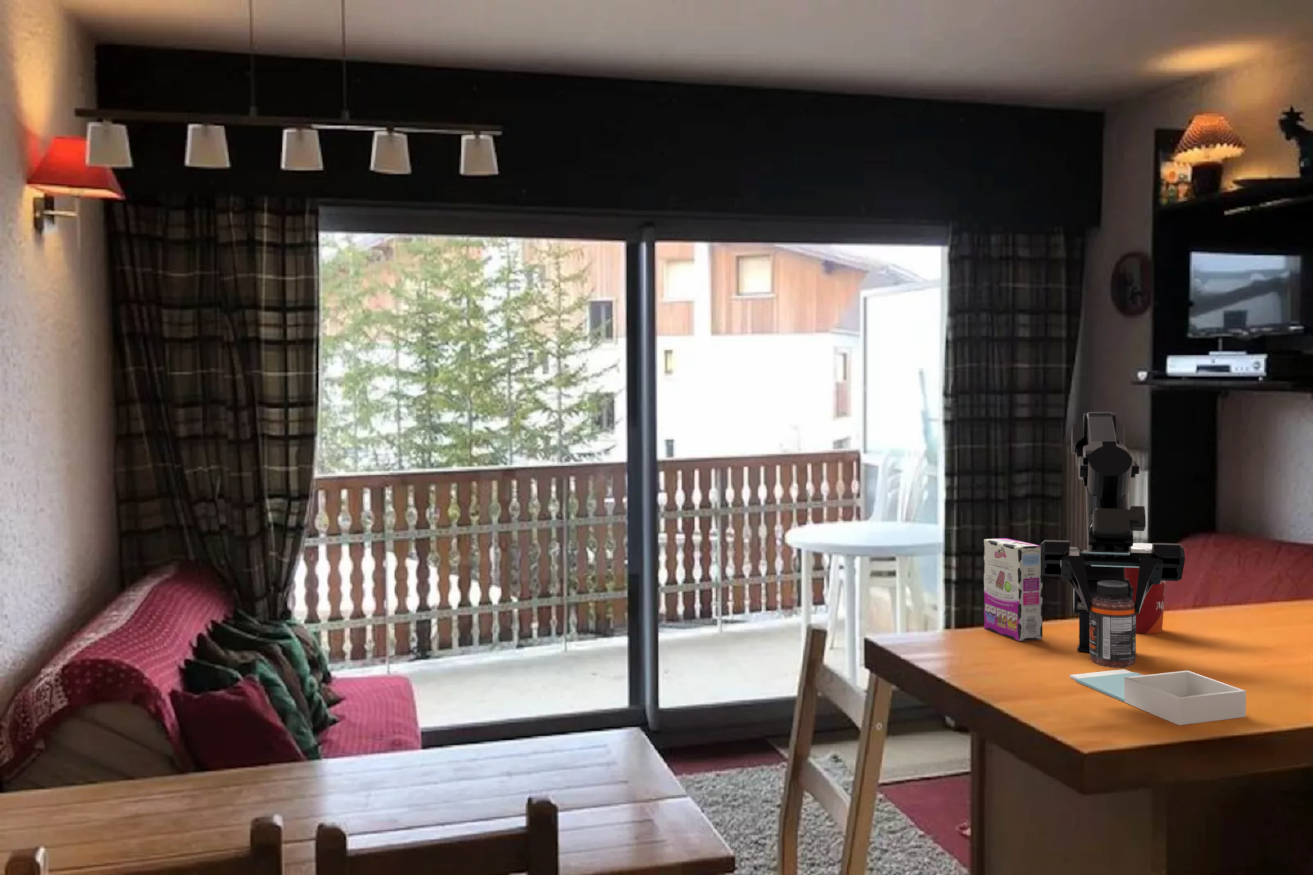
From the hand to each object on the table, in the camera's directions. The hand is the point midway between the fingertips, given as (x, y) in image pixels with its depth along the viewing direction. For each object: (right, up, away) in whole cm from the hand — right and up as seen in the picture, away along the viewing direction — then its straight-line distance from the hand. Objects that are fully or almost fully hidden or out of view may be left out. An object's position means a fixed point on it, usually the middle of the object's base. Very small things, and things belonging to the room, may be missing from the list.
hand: (1112, 610), depth 148 cm
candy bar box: (0, -11, +42) cm, 44 cm away
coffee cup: (+23, -10, +43) cm, 50 cm away
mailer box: (+7, -13, +5) cm, 15 cm away
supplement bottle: (+1, -8, +2) cm, 8 cm away
